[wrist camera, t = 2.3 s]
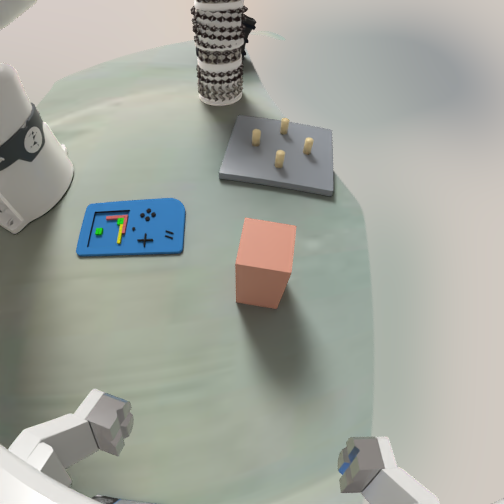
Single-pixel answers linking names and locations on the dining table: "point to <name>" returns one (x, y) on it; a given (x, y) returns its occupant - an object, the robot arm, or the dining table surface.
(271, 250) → the salmon pink block
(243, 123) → the plate
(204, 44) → the decorative candle
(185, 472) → the dining table surface
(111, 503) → the label tape box
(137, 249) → the handheld gaming device
